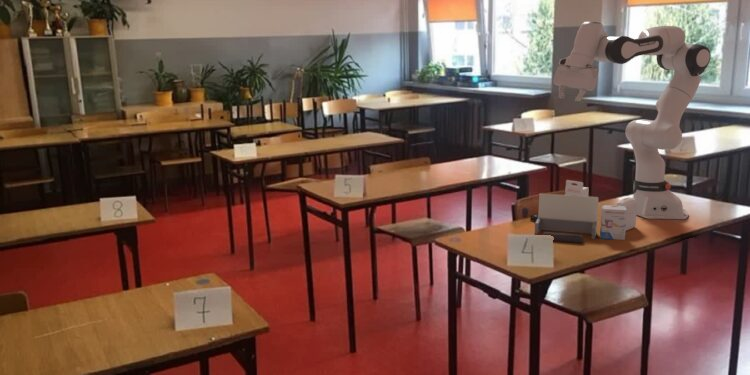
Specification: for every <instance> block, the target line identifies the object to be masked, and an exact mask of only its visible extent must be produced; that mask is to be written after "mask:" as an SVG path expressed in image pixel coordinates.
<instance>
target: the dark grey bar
mask: <svg viewBox="0 0 750 375" xmlns="http://www.w3.org/2000/svg"><path fill="white" fill-rule="evenodd" d="M542 235H551V236H553V237H554V241H553V242H564V243H565V242H566V243H575V244H576V243H577V244H581V243H583V242H584V241H585V238H584V236H583V235H582V234H576V233H575V234H572V233H561V232H560V233H559V232H550V231H549V232H548V231H544V232H543V233H542V234H541V236H542Z"/></svg>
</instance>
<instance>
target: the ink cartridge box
mask: <svg viewBox="0 0 750 375" xmlns="http://www.w3.org/2000/svg"><path fill="white" fill-rule="evenodd" d="M589 191H590V190H589V187H588V186H587V187H586V186H584V182H583V181H577V180H571V179H566V180H565V188H564V195H571V196H588V197H589Z"/></svg>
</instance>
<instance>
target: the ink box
mask: <svg viewBox="0 0 750 375" xmlns="http://www.w3.org/2000/svg"><path fill="white" fill-rule="evenodd" d="M600 212H601V214H600V227H599V228H600V231H599V236H600V238H601V239H603V240H619V241H620V240H622V241H625V240H626V217H627V209H626V207H625V206H616V205H611V204H610V205H609V204H608V205H606V204H603V205H601V210H600Z"/></svg>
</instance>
